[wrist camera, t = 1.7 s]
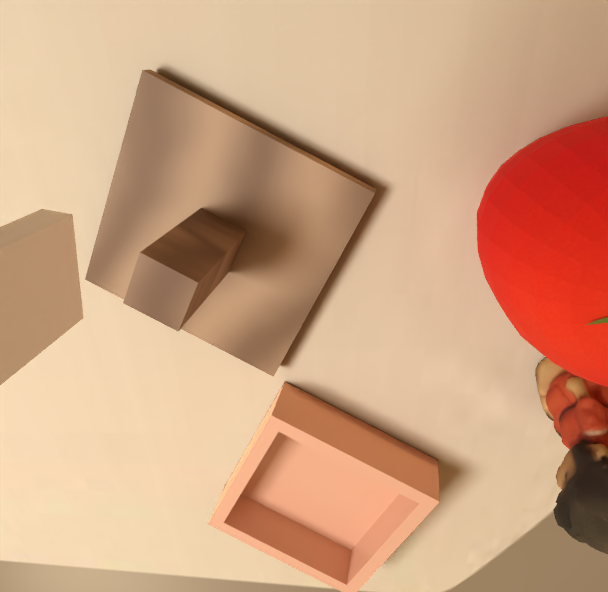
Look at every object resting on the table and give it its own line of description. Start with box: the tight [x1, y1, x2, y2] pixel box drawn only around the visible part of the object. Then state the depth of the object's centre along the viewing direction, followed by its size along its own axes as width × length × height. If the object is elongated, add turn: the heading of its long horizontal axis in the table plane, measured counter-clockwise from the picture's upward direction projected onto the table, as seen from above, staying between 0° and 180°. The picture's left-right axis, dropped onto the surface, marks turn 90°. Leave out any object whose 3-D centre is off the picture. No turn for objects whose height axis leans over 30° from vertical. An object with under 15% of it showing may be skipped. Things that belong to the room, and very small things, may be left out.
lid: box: [85, 70, 376, 376], centre depth 30 cm, size 15×15×9 cm
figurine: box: [536, 358, 608, 554], centre depth 28 cm, size 6×6×12 cm
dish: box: [208, 382, 440, 592], centre depth 40 cm, size 13×13×4 cm
